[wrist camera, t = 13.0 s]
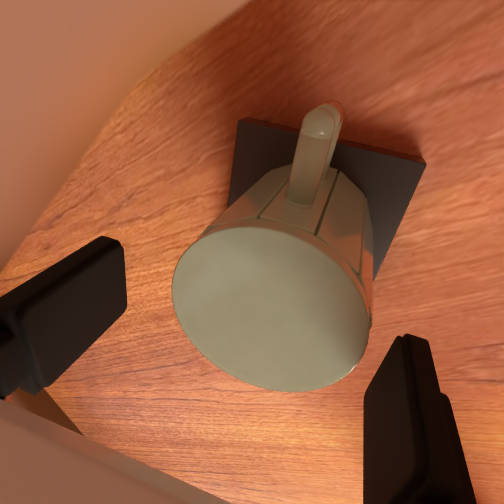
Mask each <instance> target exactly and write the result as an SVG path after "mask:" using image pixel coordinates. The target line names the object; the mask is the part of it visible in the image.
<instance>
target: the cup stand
mask: <svg viewBox="0 0 504 504" xmlns="http://www.w3.org/2000/svg"><path fill="white" fill-rule="evenodd" d="M299 133H300V130H299V129H294V128H290V127H285V126H281V125H277V124H272V123H268V122H264V121H259V120H255V119H251V118H244V119H241V120H238V127H237V134H236V142H235V150H234V158H233V166H232V174H231V182H230V190H229V197H228V205H227V209H228V208H229V207H230V206H231V205H232V204H233V203H234V202H236V201H237V200H238V199H239V198H240V197H241V196H242V195H243V194H244V193H245V192H247V191H248V190H249V189H250V188H251V187H252V186H253V185H254V184H255V183H256V182H258V181H259V180H260V179H261V178H262V177H263V176H264V175H265V174H266V173H267V172H269V171H271V170H273V169H276V168H280V167H283V166H286V165H290V164H293V160H294V155H295V151H296V146H297V142H298V138H299ZM426 165H427V164H426V162H425V160H424V159H423V158H421V157H416V156H412V155H408V154H403V153H399V152H395V151H390V150H386V149H381V148H377V147H373V146H368V145H364V144H360V143H355V142H351V141H347V140H342V139H337V143H336V146H335V150H334V153H333V157H332V160H331V163H330V167H331V168H335V169H338V172H339V171H341V172H342V173H343V174H344V175H345V176H346V177H347V178H348V179H349V180H350V181H352V182H353V183H354V184H355V185H356V186H357V187H358V188H359V189H360V190H361V191H362V192H363V193H364V194H365V197H366V198H367V203H368V207H369V212H370V216H371V221H372V225H373V282H374V280H375V278H376V275H377V273H378V271H379V269H380V266H381V264H382V262H383V260H384V258H385V255H386V253H387V251H388V249H389V247H390V244H391V242H392V240H393V238H394V236H395V233H396V231H397V229H398V227H399V224H400V222H401V220H402V218H403V216H404V213H405V211H406V209H407V207H408V205H409V202H410V200H411V198H412V196H413V194H414V191H415V189H416V187H417V185H418V182H419V180H420V178H421V176H422V174H423V171H424V169H425V167H426ZM338 172H337V173H338Z"/></svg>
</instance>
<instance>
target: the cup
mask: <svg viewBox="0 0 504 504" xmlns="http://www.w3.org/2000/svg"><path fill="white" fill-rule="evenodd" d="M344 114H345V111H344V107H343V106H342V104H341V103H340V102H338V101H335V100H330V101H327V102H325V103H323V104H322V105H320V106H318V107H316V108H314V109H312V110H311V111H309V112H308V113H307V114H306V115H305V117H304V119H303V121H302V125H301V130H300V133H299V138H298V142H297V146H296V151H295V155H294V160H293V164H290V165H286V166H283V167H280V168H276V169H273V170H271V171H269V172H267V173H266V174H265V175H264V176H263V177H262V178H261V179H260V180H259V181H258V182H256V183H255V184H254V185H253V186H252V187H251V188H250V189H249V190H248V191H247V192H245V193H244V194H243V195H242V196H241V197H240V198H239V199H238V200H237V201H236V202H234V203H233V204H232V205H231V206H230V207H229V208H228V209H227V210H226V211H225V212H223V213H222V214H221V215H220V216H219V217H218V218H217V219H216V220H215V221H214V222H212V223H211V224H210V225H209V226H208V227H207V228H206V229H205V230H204V231H203V232H202V234H201V235H200V236H199V237H198V238H197V240H196V241H195V242H194V243H192V244H191V245H190V246H189V247H188V248H187V249H186V250H185V252H184V253H183V255H182V256H181V257H180V259H179V261H178V263H177V265H176V267H175V271H174V274H173V278H172V287H171V288H172V301H173V306H174V310H175V313H176V316H177V319H178V321H179V323H180V325H181V327H182V329H183V330H184V332H185V334H186V335H187V337H188V338H189V340H190V341H191V342H192V344H193V345H194V346H195V347H196V348H197V349H198V350H199V352H200V353H201V354H203V355H204V356H205V357H206V358H207V359H208V360H209V361H210V362H212V363H213V364H214V365H215V366H217V367H218V368H220V369H221V370H223V371H224V372H226V373H228V374H229V375H231V376H233V377H235V378H237V379H239V380H241V381H243V382H246V383H248V384H251V385H254V386H257V387H260V388H264V389H268V390H274V391H280V392H306V391H313V390H317V389H321V388H324V387H327V386H329V385H332V384H334V383H336V382H338V381H339V380H341V379H343V378H344V377H345V376H346V375H348V374H349V373H350V372H351V371H352V370H353V369H354V368H355V367H356V366H357V364H358V363H359V361H360V360H361V358H362V356H363V355H364V352H365V350H366V347H367V344H368V338H369V331H370V329H371V327H372V321H373V225H372V221H371V216H370V212H369V207H368V203H367V198H366V197H365V194H364V193H363V192H362V191H361V190H360V189H359V188H358V187H357V186H356V185H355V184H354V183H353V182H352V181H350V180H349V179H348V178H347V177H346V176H345V175H344V174H343V173H342V172H341V171H339V172H338V169H335V168H331V167H330V163H331V160H332V157H333V153H334V150H335V146H336V143H337V139H338V136H339V132H340V129H341V126H342V121H343V118H344ZM337 172H338V173H337Z"/></svg>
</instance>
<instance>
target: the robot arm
mask: <svg viewBox="0 0 504 504" xmlns="http://www.w3.org/2000/svg"><path fill="white" fill-rule="evenodd" d="M126 308H127V292H126V276H125V261H124V249H123V247H122V246H121V244H120V242H119V241H118V240H115V239H112V238H109V237H105V236H100V237H98V238H97V239H95V240H93V241H92V242H90V243H88V244H87V245H85V246H84V247H82V248H80V249H79V250H77V251H75V252H74V253H72V254H70V255H69V256H67V257H66V258H64V259H62V260H61V261H59V262H57V263H56V264H54V265H52V266H51V267H49V268H48V269H46V270H44V271H43V272H41V273H39V274H38V275H36V276H34V277H33V278H31V279H30V280H28V281H26V282H25V283H23V284H21V285H20V286H18V287H16V288H15V289H13V290H12V291H10V292H8V293H7V294H5V295H3V296H2V297H0V504H231V503H229V502H227V501H225V500H222V499H220V498H218V497H216V496H214V495H212V494H209V493H207V492H205V491H203V490H201V489H199V488H196V487H194V486H192V485H190V484H188V483H186V482H183V481H181V480H179V479H177V478H175V477H172V476H170V475H168V474H166V473H164V472H161V471H159V470H157V469H155V468H153V467H151V466H148V465H146V464H144V463H142V462H140V461H137V460H135V459H133V458H131V457H129V456H126V455H124V454H122V453H120V452H118V451H115V450H113V449H111V448H109V447H107V446H104V445H102V444H100V443H98V442H96V441H93V440H91V439H89V438H87V437H85V436H82V435H80V434H78V433H75V432H73V431H71V430H69V429H66V428H64V427H62V426H60V425H58V424H55V423H53V422H51V421H49V420H47V419H44V418H42V417H40V416H38V415H35V414H33V413H31V412H29V411H27V410H24V409H22V408H20V407H18V406H15V405H13V404H11V400H12V395H13V392H14V391H15V390H16V389H17V388H18V387H19V386H20V388H21V390H24V391H26V392H28V393H31V394H33V395H37V394H38V393H39V392H40V391H41V390H42V389H43V388H44V387H48V386H50V385H51V384H53V383H54V382H55V381H56V380H57V379H58V378H59V377H60V376H61V375H62V374H63V373H64V372H65V371H66V370H67V369H68V368H69V367H70V366H71V365H72V364H73V363H74V362H75V361H76V360H77V359H78V358H79V357H80V356H81V355H82V354H83V353H84V352H85V351H86V350H87V349H88V348H89V347H90V346H91V345H92V344H93V343H94V342H95V341H96V340H97V339H98V338H99V337H100V336H101V335H102V334H103V333H104V332H105V331H106V330H107V329H108V328H109V327H110V326H111V325H112V324H113V323H114V322H115V321H116V320H117V319H118V318H119V317H120V316H121V315H122V314H123V313H124V312H125V310H126ZM363 504H477V503H476V499H475V495H474V491H473V487H472V484H471V480H470V476H469V472H468V468H467V464H466V461H465V457H464V453H463V449H462V445H461V441H460V438H459V434H458V430H457V426H456V422H455V419H454V415H453V411H452V407H451V403H450V401H449V398H448V397H447V395H446V394H443V393H441V392H440V388H439V383H438V379H437V375H436V371H435V367H434V362H433V358H432V354H431V350H430V346H429V342H428V341H427V340H426V339H423V338H420V337H417V336H414V335H411V334H405V335H404V336H403V337H401V336H397V337H396V338H395V340H394V342H393V344H392V345H391V347H390V349H389V351H388V353H387V354H386V356H385V358H384V360H383V361H382V363H381V365H380V367H379V368H378V370H377V372H376V374H375V376H374V377H373V379H372V381H371V383H370V384H369V386H368V388H367V390H366V392H365V396H364V441H363Z"/></svg>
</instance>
